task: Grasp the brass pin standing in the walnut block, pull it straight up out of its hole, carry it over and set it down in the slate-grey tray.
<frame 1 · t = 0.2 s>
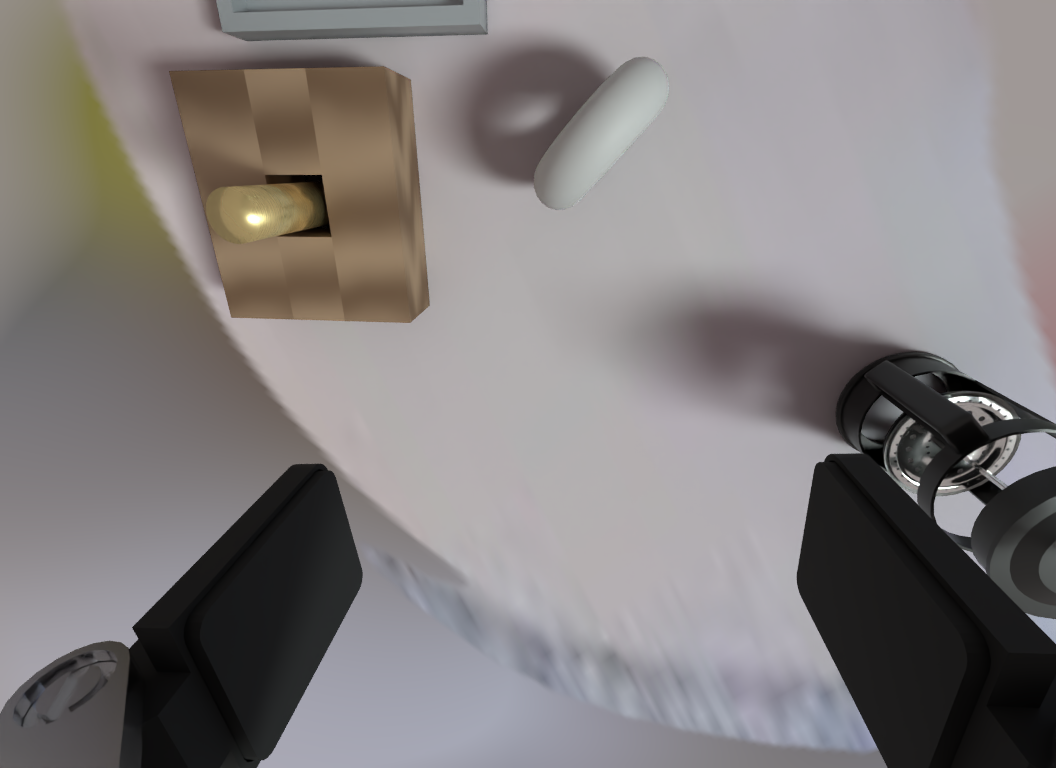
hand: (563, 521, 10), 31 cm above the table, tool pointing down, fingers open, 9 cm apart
french press: (892, 400, 40), on the table
donut: (596, 142, 35), on the table
pin block: (332, 201, 38), on the table
pin: (291, 207, 33), in the pin block
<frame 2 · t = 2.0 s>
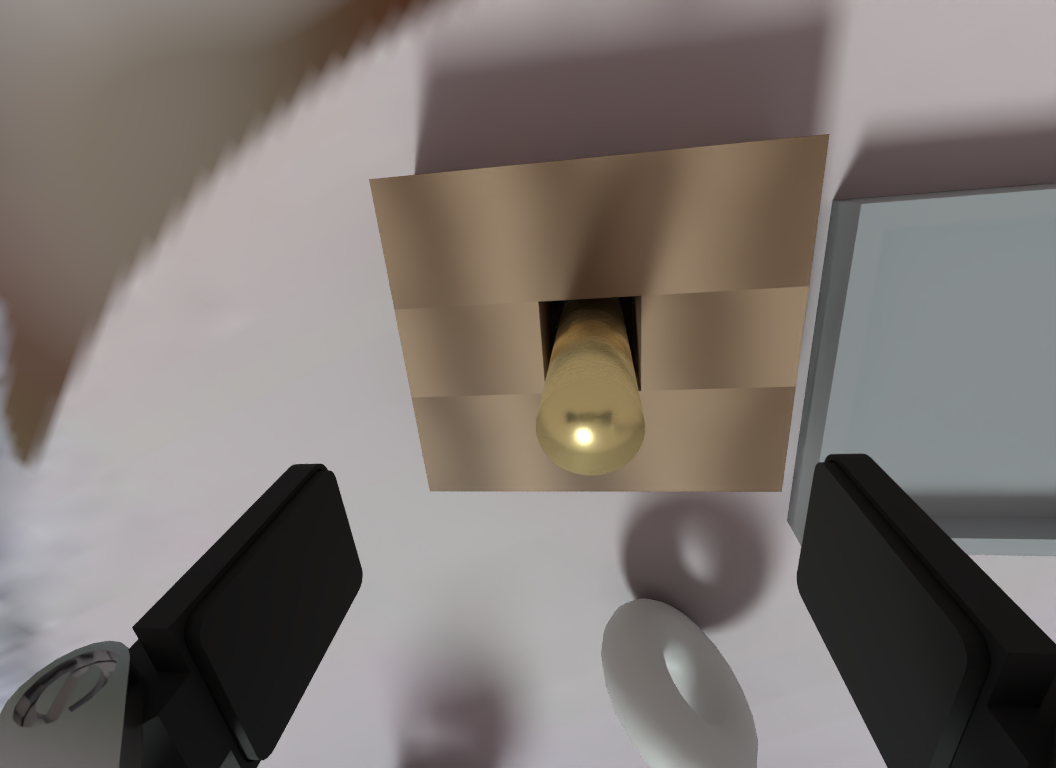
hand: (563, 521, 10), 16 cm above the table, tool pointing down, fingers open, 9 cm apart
donut: (665, 611, 32), on the table
pin block: (591, 314, 25), on the table
tray: (976, 376, 23), on the table
pin: (590, 355, 19), in the pin block
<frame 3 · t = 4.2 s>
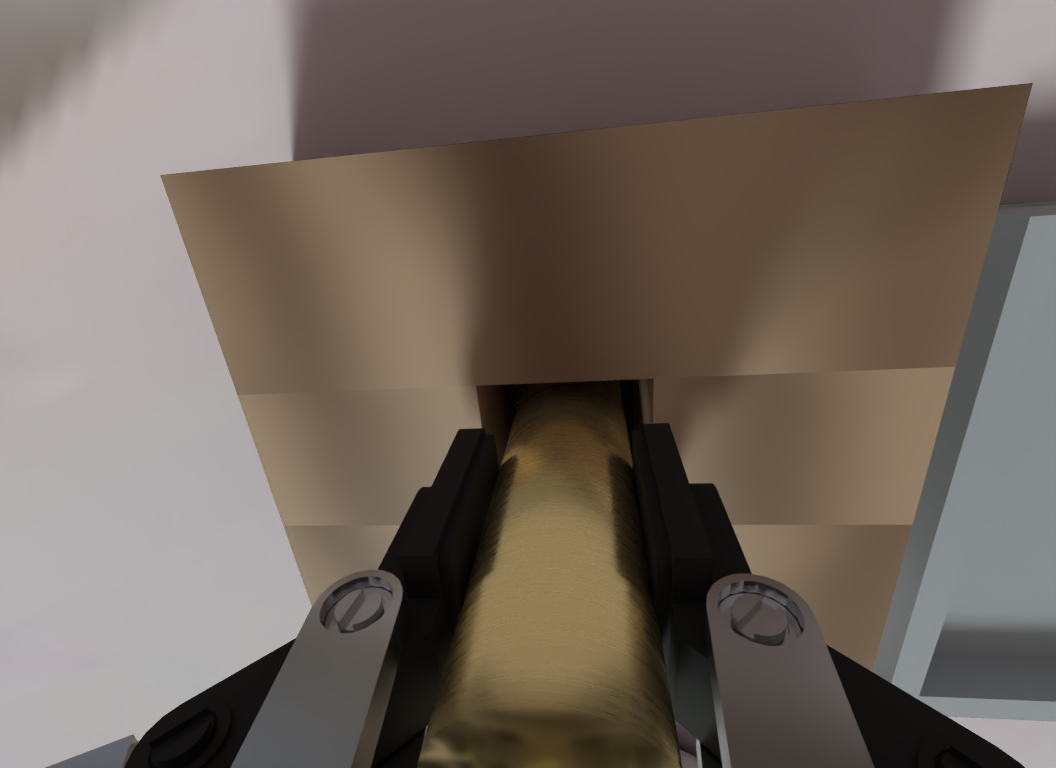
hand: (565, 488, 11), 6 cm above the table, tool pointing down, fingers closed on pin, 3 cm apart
donut: (676, 751, 24), on the table
pin block: (572, 377, 16), on the table
pin: (566, 482, 11), in the pin block, touching gripper
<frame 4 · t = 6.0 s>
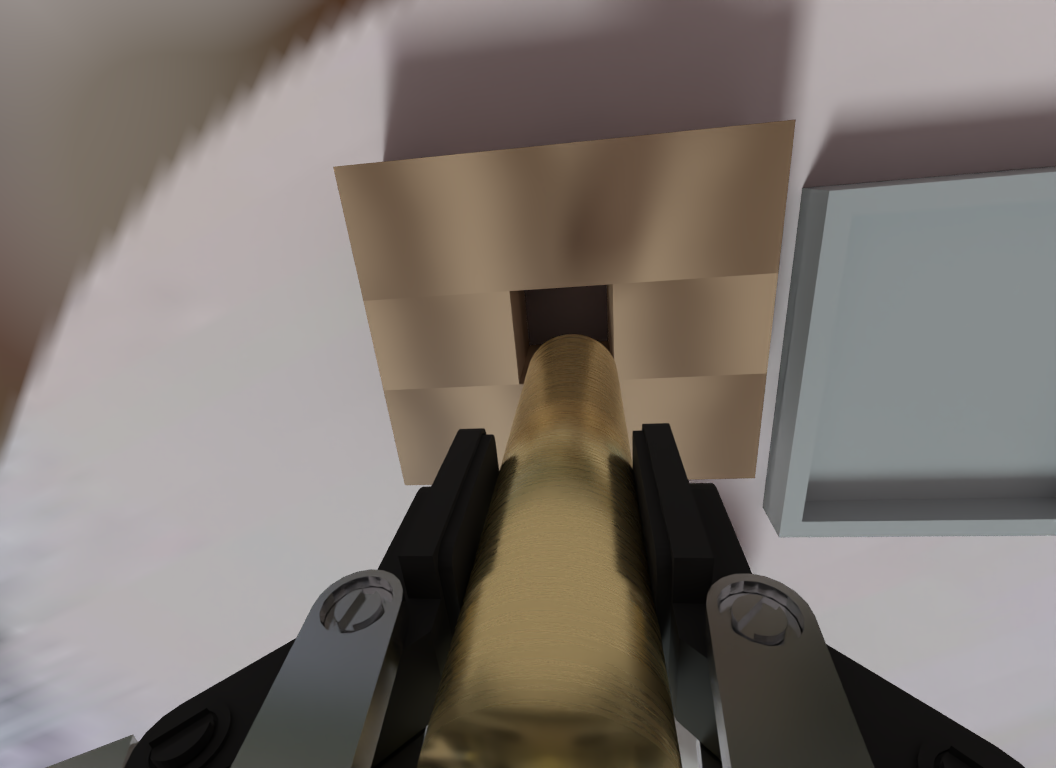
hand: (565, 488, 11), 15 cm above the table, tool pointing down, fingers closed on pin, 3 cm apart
donut: (645, 600, 32), on the table
pin block: (566, 304, 24), on the table
tray: (942, 362, 24), on the table
pin: (566, 481, 11), point 15 cm above the table, touching gripper
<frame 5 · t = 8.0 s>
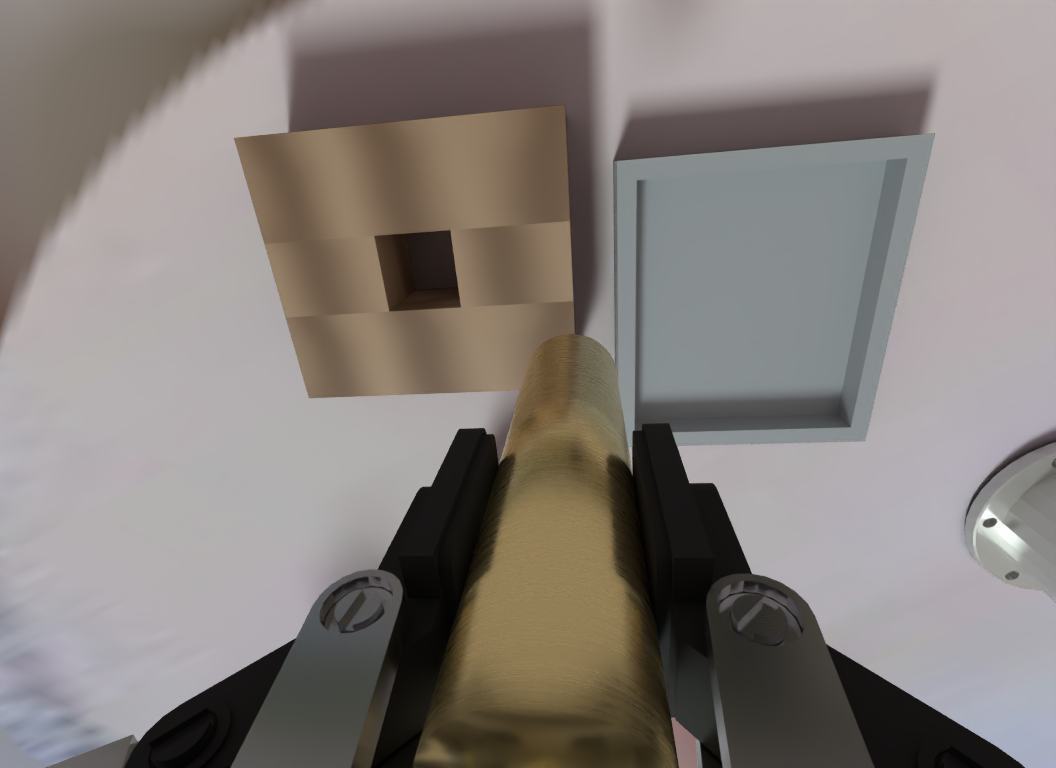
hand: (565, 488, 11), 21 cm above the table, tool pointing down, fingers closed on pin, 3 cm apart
pin block: (441, 255, 30), on the table
tray: (739, 302, 30), on the table
pin: (564, 481, 11), point 21 cm above the table, touching gripper
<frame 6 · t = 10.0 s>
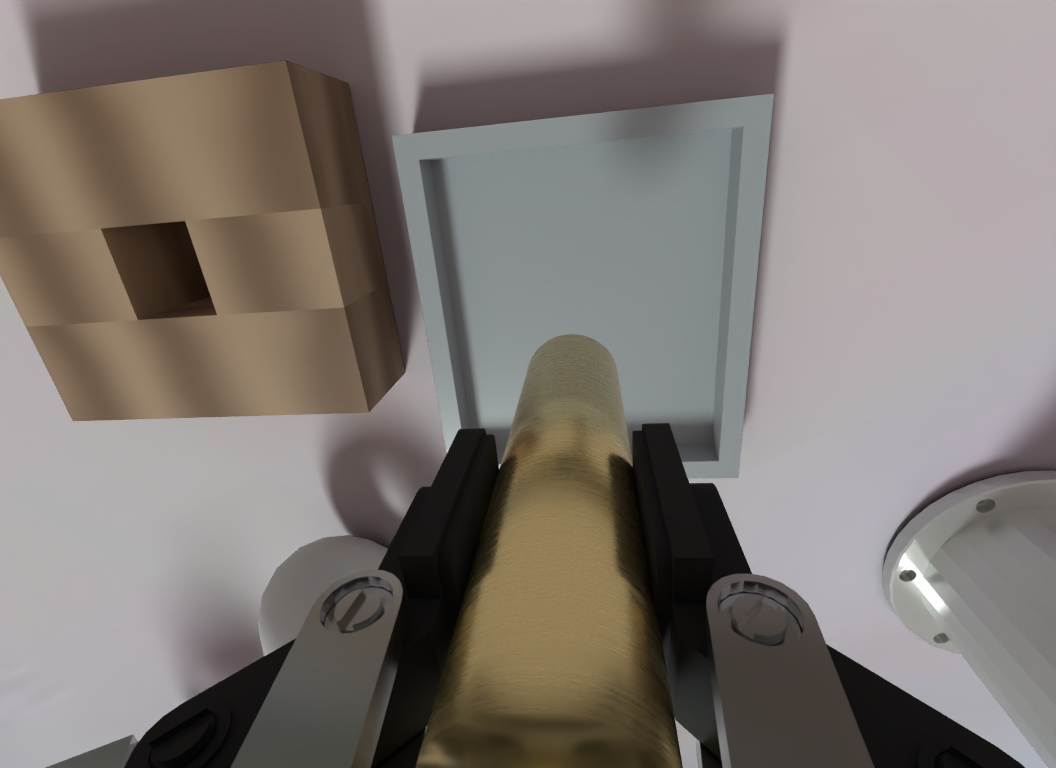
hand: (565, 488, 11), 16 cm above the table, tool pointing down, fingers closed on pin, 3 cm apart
donut: (385, 551, 33), on the table
pin block: (235, 254, 26), on the table
tray: (582, 309, 25), on the table
pin: (566, 482, 11), point 15 cm above the table, touching gripper
when the fingers open (9 cm above the table, at t = 11.8 s): pin drops 2 cm, resting on tray.
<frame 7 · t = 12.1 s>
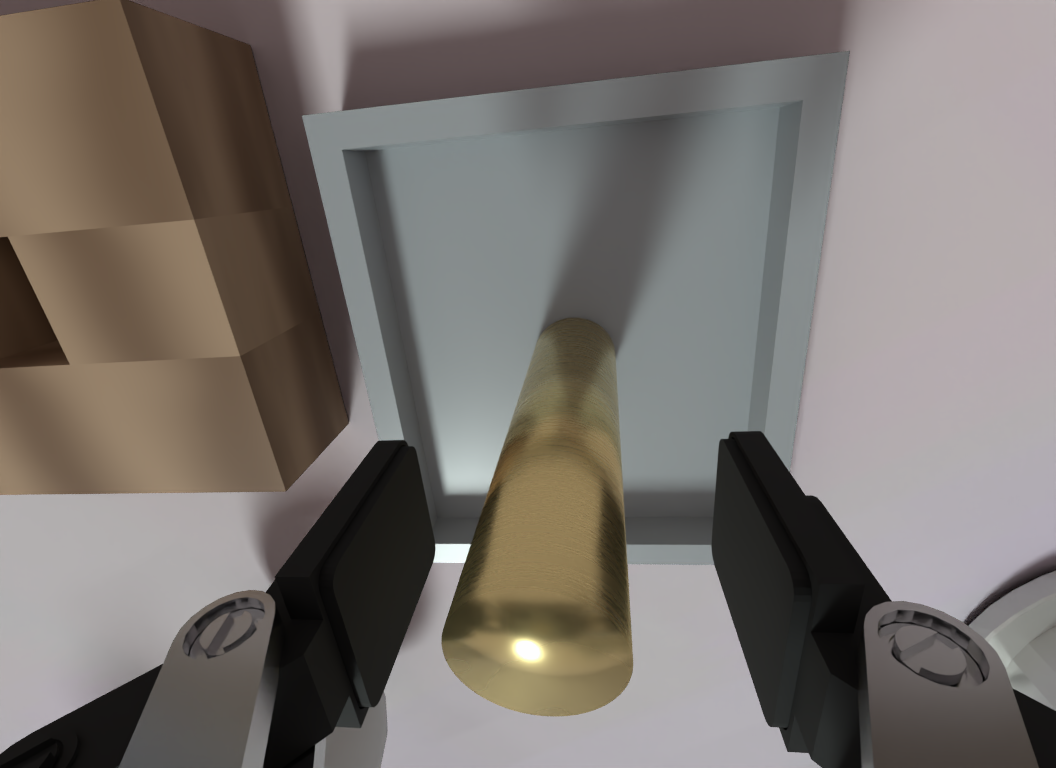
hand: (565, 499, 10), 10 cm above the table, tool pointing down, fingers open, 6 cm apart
donut: (336, 629, 27), on the table
pin block: (122, 275, 20), on the table
tray: (573, 347, 19), on the table
pin: (562, 445, 13), in the tray, point 7 cm above the table
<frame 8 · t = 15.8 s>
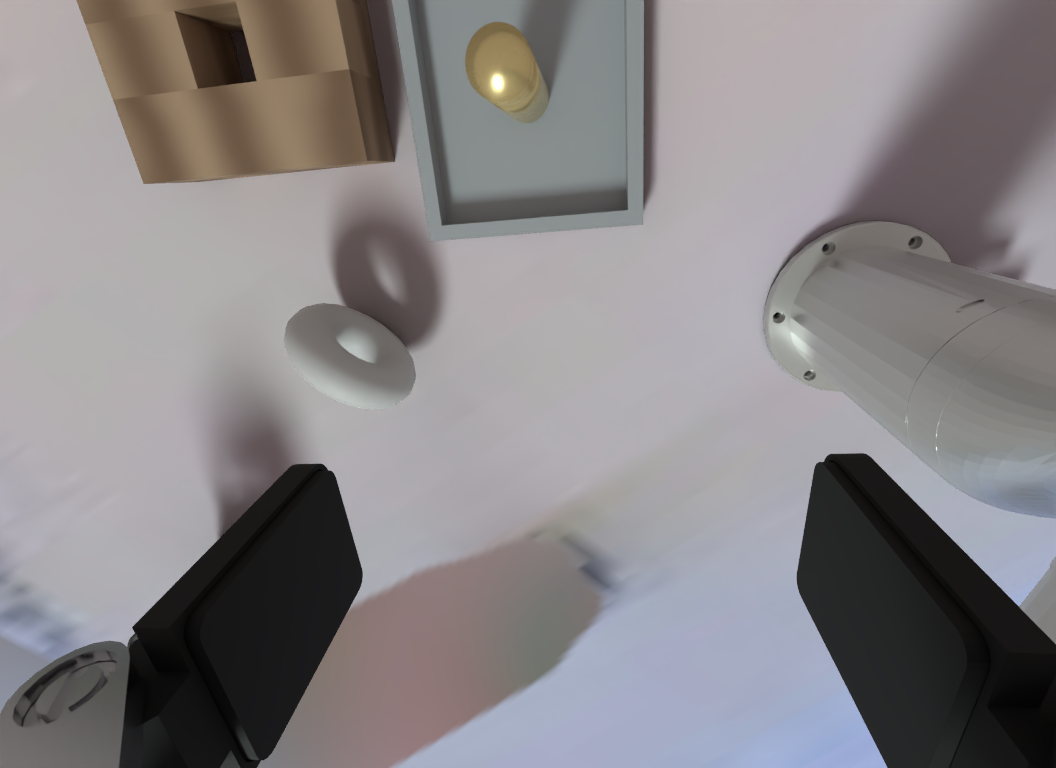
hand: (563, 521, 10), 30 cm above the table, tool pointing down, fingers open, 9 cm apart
donut: (380, 333, 42), on the table
pin block: (265, 62, 34), on the table
tray: (526, 98, 33), on the table
pin: (515, 83, 27), in the tray, point 7 cm above the table
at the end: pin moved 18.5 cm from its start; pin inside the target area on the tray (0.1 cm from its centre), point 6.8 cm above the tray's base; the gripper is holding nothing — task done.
